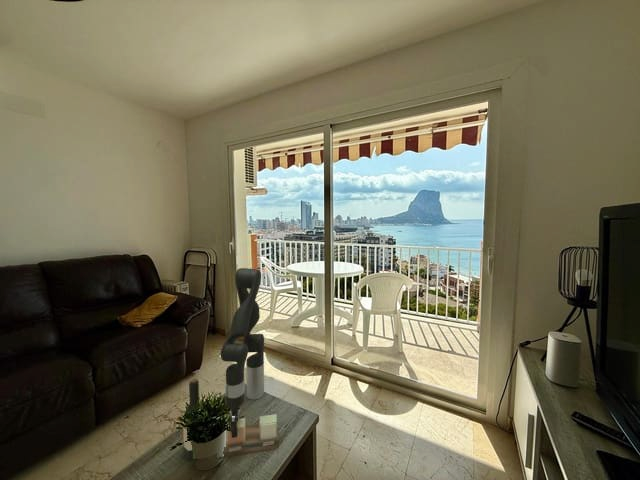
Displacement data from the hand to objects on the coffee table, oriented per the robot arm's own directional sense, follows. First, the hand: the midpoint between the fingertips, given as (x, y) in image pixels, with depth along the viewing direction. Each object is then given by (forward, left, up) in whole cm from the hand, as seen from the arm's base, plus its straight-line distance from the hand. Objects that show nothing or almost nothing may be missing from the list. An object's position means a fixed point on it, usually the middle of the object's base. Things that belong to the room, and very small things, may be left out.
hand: (236, 428), depth 104 cm
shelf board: (-2, +5, -8) cm, 10 cm away
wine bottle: (-1, -16, -8) cm, 18 cm away
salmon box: (0, 0, -6) cm, 6 cm away
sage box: (0, +13, -6) cm, 14 cm away
